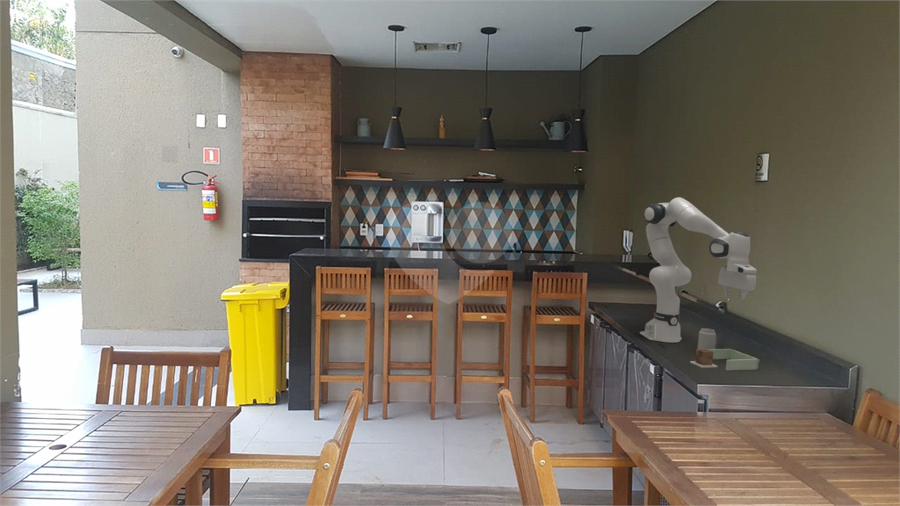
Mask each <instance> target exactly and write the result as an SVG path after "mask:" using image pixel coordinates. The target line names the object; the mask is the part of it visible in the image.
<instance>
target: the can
mask: <svg viewBox="0 0 900 506" xmlns="http://www.w3.org/2000/svg"><path fill="white" fill-rule="evenodd" d="M715 331H716V330H715V329H712V328H706V327H705V328H704V327H702V328H701V329H700V330H699V331H698V341H697V349H716V339H717V333H716V332H715Z"/></svg>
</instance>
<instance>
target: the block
mask: <svg viewBox="0 0 900 506" xmlns="http://www.w3.org/2000/svg"><path fill="white" fill-rule="evenodd" d="M694 361H695V362H696V363H698V364H700V365H712V364H713V361H714V359H713V351H710V350H708V349H698V348H696V349H695V359H694Z"/></svg>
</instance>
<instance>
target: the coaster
mask: <svg viewBox="0 0 900 506" xmlns="http://www.w3.org/2000/svg"><path fill="white" fill-rule="evenodd" d="M689 363H690V364H692V365H694V366H697V367H699V368H701V369H704V368H706V369H708V368H709V369H710V368H718V365H716V364H714V363H712V365H700V364H698V363H696V362H695V360H694V361H693V360H690V361H689Z"/></svg>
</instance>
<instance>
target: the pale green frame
mask: <svg viewBox="0 0 900 506" xmlns="http://www.w3.org/2000/svg"><path fill="white" fill-rule="evenodd" d="M708 350H710V351H713V360H725V361H726V362H725V363H726V365H725V371H731V372H732V371H754V370H755V371H756V370H757V371H758V370H759V369H760V359H759V358H757V357H754V356H752V355H748V354H747V353H743V352H740V351H738V350H736V349H732V348H715V349H708Z"/></svg>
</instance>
